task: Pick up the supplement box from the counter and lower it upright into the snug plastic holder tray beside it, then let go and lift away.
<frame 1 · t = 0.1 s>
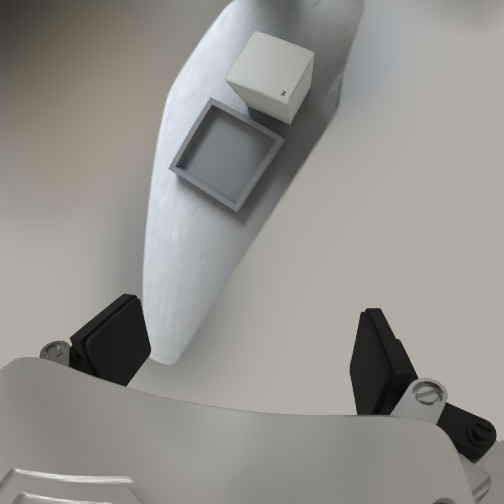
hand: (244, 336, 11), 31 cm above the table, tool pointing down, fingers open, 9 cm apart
supplement box: (278, 95, 35), on the table
holder tray: (228, 154, 39), on the table
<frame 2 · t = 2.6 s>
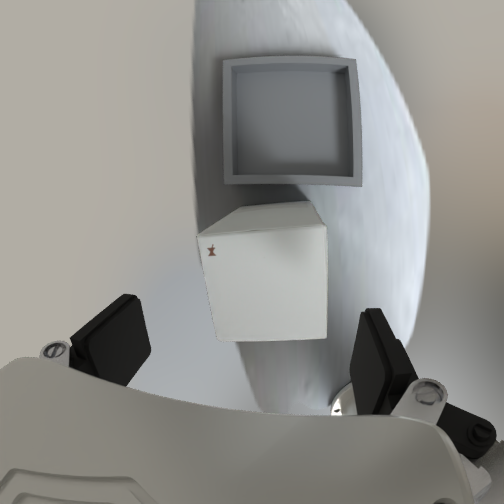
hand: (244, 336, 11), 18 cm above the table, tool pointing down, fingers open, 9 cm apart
supplement box: (279, 238, 28), on the table
holder tray: (292, 122, 24), on the table
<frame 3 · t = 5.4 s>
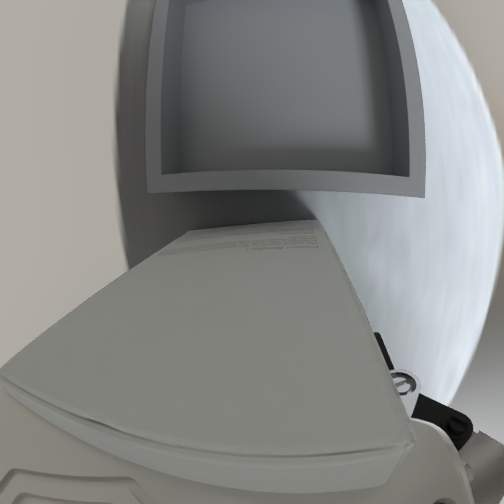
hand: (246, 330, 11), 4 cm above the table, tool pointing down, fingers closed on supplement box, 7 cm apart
supplement box: (260, 286, 15), on the table, touching gripper
holder tray: (284, 73, 12), on the table
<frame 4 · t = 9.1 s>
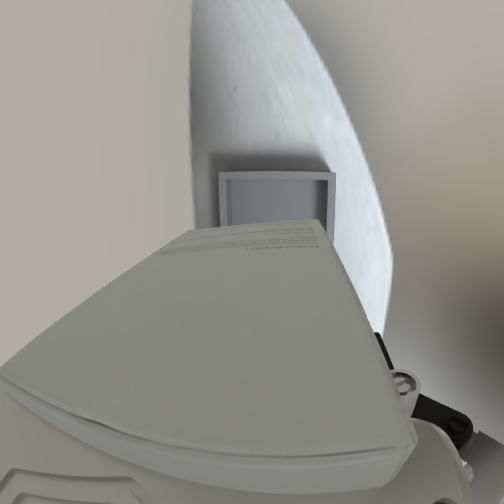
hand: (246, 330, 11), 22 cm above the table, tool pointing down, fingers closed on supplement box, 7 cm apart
supplement box: (260, 285, 15), point 17 cm above the table, touching gripper
holder tray: (278, 223, 32), on the table
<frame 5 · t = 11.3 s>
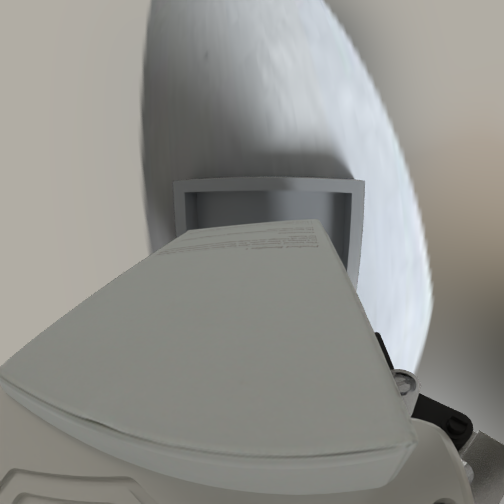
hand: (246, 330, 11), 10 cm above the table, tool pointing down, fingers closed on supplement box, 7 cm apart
supplement box: (260, 285, 15), point 5 cm above the table, touching gripper
holder tray: (270, 258, 21), on the table
when the fingers open (6 cm above the table, at t = 13.2 s): supplement box stays where it is, resting on holder tray.
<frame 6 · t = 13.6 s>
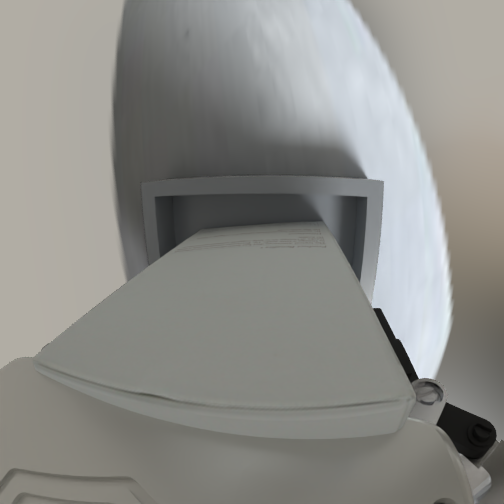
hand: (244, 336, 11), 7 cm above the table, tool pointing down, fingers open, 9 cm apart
supplement box: (267, 282, 16), point 1 cm above the table, touching holder tray
holder tray: (263, 275, 17), on the table
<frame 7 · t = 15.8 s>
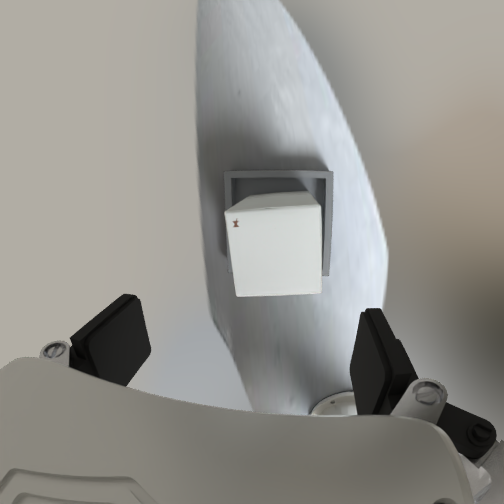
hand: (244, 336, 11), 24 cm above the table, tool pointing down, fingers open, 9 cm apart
supplement box: (282, 222, 33), point 1 cm above the table, touching holder tray
holder tray: (279, 219, 34), on the table
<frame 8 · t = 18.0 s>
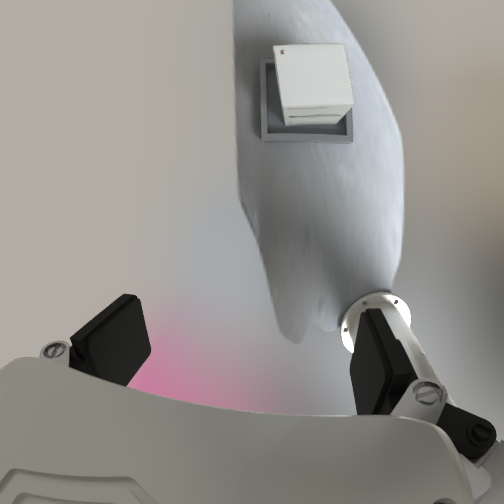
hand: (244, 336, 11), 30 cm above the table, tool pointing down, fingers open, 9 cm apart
supplement box: (308, 102, 33), point 1 cm above the table, touching holder tray
holder tray: (305, 101, 34), on the table
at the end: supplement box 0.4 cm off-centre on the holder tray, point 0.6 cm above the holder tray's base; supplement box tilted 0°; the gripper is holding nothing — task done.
